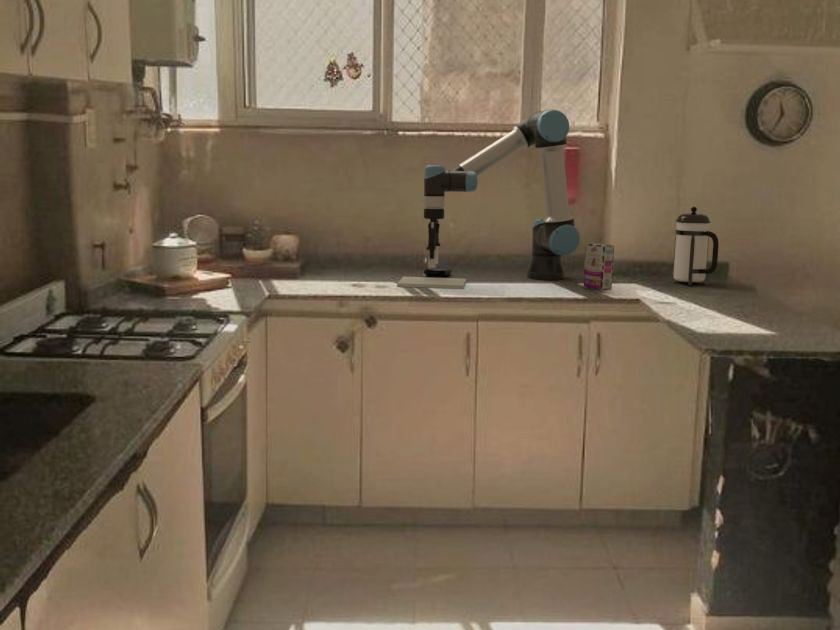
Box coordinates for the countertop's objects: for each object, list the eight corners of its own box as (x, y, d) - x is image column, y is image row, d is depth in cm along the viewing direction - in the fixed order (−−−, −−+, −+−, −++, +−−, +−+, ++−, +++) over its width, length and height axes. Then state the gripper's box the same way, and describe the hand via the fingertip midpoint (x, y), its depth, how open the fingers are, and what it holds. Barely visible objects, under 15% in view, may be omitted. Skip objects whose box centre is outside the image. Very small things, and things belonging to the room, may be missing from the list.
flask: (423, 268, 358) (431, 267, 368) (423, 276, 359) (431, 274, 369) (446, 270, 355) (453, 268, 366) (445, 277, 356) (453, 276, 366)
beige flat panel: (465, 281, 348) (465, 278, 348) (463, 288, 329) (463, 285, 329) (403, 279, 350) (403, 276, 350) (397, 286, 331) (397, 283, 331)
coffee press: (668, 285, 351) (673, 206, 346) (669, 280, 366) (674, 205, 361) (715, 288, 346) (721, 208, 341) (715, 283, 361) (720, 206, 356)
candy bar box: (612, 290, 335) (615, 245, 332) (601, 290, 332) (604, 245, 330) (593, 286, 344) (595, 242, 342) (582, 286, 342) (584, 242, 339)
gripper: (426, 206, 348) (426, 261, 351) (420, 209, 323) (420, 269, 327) (446, 206, 347) (445, 262, 350) (442, 209, 322) (441, 269, 326)
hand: (433, 265), depth 339 cm, fingers open, 13 cm apart
